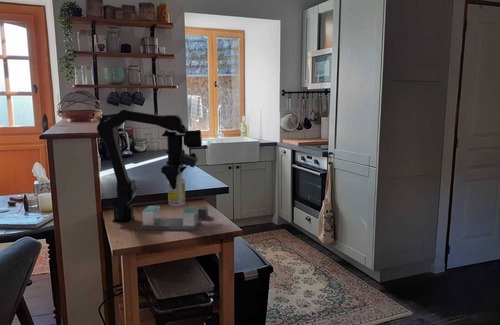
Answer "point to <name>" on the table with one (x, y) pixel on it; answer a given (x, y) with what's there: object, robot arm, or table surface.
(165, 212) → the table surface
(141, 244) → the table surface
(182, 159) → the robot arm
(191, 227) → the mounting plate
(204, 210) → the loose gray rectangular block
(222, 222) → the table surface
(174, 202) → the supplement bottle
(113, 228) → the table surface
